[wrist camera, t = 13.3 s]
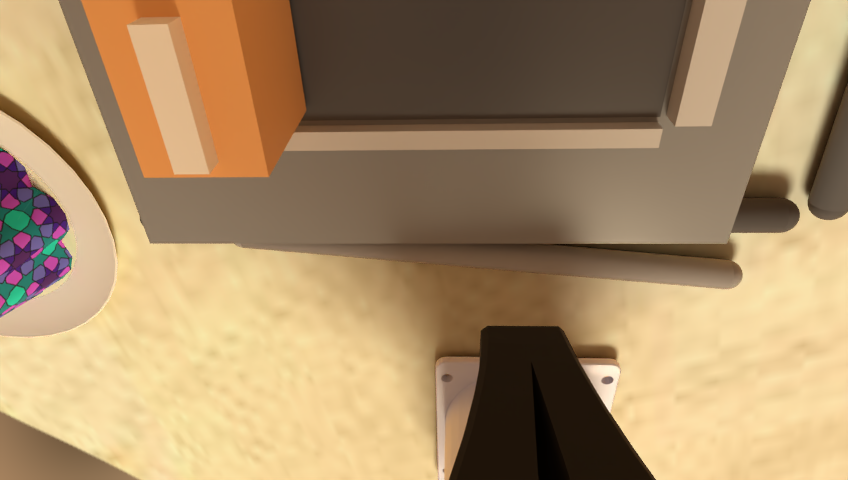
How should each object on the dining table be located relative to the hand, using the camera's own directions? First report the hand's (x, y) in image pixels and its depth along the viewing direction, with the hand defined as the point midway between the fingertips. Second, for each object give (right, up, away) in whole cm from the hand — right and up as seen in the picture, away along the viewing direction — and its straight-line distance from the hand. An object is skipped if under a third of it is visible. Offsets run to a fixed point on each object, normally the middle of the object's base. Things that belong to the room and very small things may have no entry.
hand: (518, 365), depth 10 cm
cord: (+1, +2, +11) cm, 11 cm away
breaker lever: (-7, +8, +5) cm, 11 cm away
